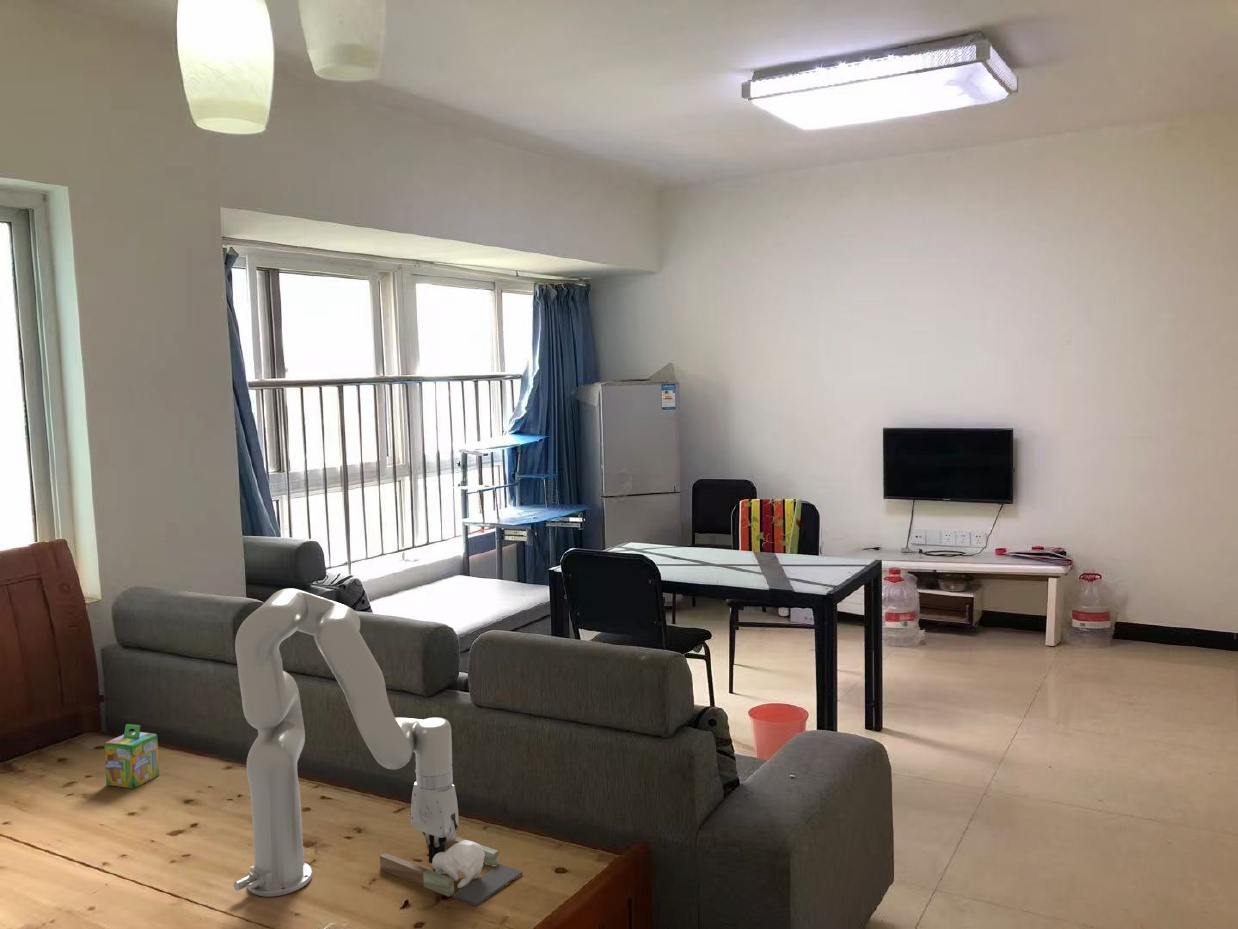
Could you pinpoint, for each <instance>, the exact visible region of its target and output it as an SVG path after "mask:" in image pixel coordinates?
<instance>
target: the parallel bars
mask: <svg viewBox="0 0 1238 929" xmlns="http://www.w3.org/2000/svg"><path fill="white" fill-rule="evenodd" d="M456 837H457V838H456V839H455V840H453V841H447V842H445V851H447V850H448V849H449V848H450V847H451V846H453V845H454V844H456V843H458V842H460V841H463V840H468V839H465V838H462V837H460V836H457V835H456ZM468 841H470V840H468ZM478 844H479V845H480V846H481V848H482V850H483V851H484V853H485V857H484V863H487V864H489V865H497V864H498V863H499V862H500V858H499V850H497V849H494V848H491V847H488V846H485V845H482V844H480V843H478ZM499 864H500V863H499ZM489 865H488V866H489ZM379 866H380V867H379V869H380V870H381V871H383V872H386V873H388V874H391V875H394V876H396V877H399V878H401V879H403V880H406V881H409V882H410V883H413V884H416V885H419V886H421V887H423V888H426V889H429V890H431V891H433V892H436V893H439V894H440V895H443V896H446V897H450V896H453V895H454V894H455V888H454V887H455V886H454V884H455V883H454V881H455V880H454V879H453V878H452V877H450V876H446V875H445V874H439V873H436V871H433V870H431V869H429V868H426V867H423V866H421V865H418V864H415V863H413V862H410V861H407V860H406V859H402V858H399V857H397V856H394V855H392V854H390V853H386V852H384V853H382V854H380V855H379ZM497 866H498V865H497Z"/></svg>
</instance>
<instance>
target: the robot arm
mask: <svg viewBox="0 0 1238 929" xmlns="http://www.w3.org/2000/svg"><path fill="white" fill-rule="evenodd" d="M360 619H361V618H360V616H359V614H358V613H357V612H356V610H354V609H353V608H351V607H349V606H348V605H346V604H342V603H340V602H337V601H334V600H331V599H328V598H325V597H322V596H318V595H315V594H313V593H309V592H307V591H305V590H301V589H297V588H283V589H280V590H278V591H275V592H274V593H273V594H272V595H271V596H270V597H269V598H268V599H267V600H265V602H264V603H262V605H260V607H258V608H256V610H254V611H253V612H251V614H249V615H248V616H247V617H246V618H245V619H244V620H243V621H242V623H241V624H240V626H239V628H238V630H237V632H236V636H235V642H234V644H235V645H234V648H235V659H236V663H237V666H236V667H237V670H238V681H239V689H240V695H241V703H242V704H241V705H242V712H243V715H244V718H245V720H246V722H247V723H248V724H249V725H250V726H251V727H253V728H254V729H256V730H257V737H256V738H255V740H254V742H253V743H252V745H251V747H250V749H249V751H248V754H247V758H246V768H245V769H246V776H247V781H248V786H249V793H250V805H251V808H250V809H251V810H250V811H251V818H252V832H253V833H252V836H253V854H254V864H253V865H251V866H250V867H249V870H250V872H248V873H247V874H246V876H244V877H242V878H240V879H237V880H235V881H234V882H233V889H234V890H235V891H237V892H238V891H241V890H242V889H244V888H247V891H249V892H250V893H252V894H253V895H256V896H259V897H269V898H270V897H271V898H273V897H279V896H283V895H287V894H292V893H294V892H296V891H298V890H301V889H302V888H304V886H307V884H308V883H309V882H310V881H311V880H312V877H313V869H312V866H310V865H309V864H308V863H306V862H305V858H304V842H303V840H304V839H303V822H302V821H303V820H302V805H301V804H302V803H301V791H300V783H299V782H300V781H299V776H298V763H299V762H298V761H299V759H300V756H301V753H302V751H303V748H304V746H305V741H306V740H305V739H306V733H305V732H306V730H305V725H304V717H303V711H302V705H301V703H302V702H301V698H300V697H301V696H300V692H299V687H298V684H297V682H296V680H295V678H294V677H293V676H292V675H291V674H290V673H288V672H287V671H286V670H285V671H284V668H283V658H282V655H281V651H280V645H281V644H282V642H283V641H285V640H286V639H288V638H289V637H291V636H293V634H294V633H296V632H300V633H304V634H307V635H311V636H313V638H314V642H315V645H316V646H317V649H318V650H319V652H320V654H321V655H322V657H323V659H324V660H325V662H326V664H327V666H328V667H329V669H330V671H331V672H332V674H333V676H334V678H335V680H336V681H337V683H338V685H339V686H340V688H341V691H343V694H344V696H345V698H346V701H347V705H348V707H349V710H350V711H351V714H352V717H353V719H354V721H355V724H356V727H357V729H358V731H359V733H360V736H361V737H362V739H363V741H364V743H365V744H366V746H367V748H368V750H369V752H370V753H371V755H372V756H373V757H374V759H375V761H376V762H377V763H378V764H379V765H380V766H382V767H383V768H385V769H386V770H387V769H388V770H399V769H401V768H403V767H404V766H406V765H407V764H408V763H409V762H410V760H411V758H412V757H413V753H415V769H414V773H415V774H416V775H415V780H416V781H414V784H413V787H412V793H411V794H412V795H411V801H410V802H411V803H410V806H411V807H410V824H411V827H412V828H414V829H415V830H417V831H419V832H421V833H422V834H423V836H424V838H425V843H426V844H427V845H428V863H429V864H431V865H432V860H433V857H434V856H435V855H436V854H437V853H439V852H445V851H446V850H445V842H447V841H453V840H455V839H456V838H457V837H458V836H457V833H456V831H458V828H459V821H460V820H459V808H458V807H459V806H458V799H457V793H456V792H457V791H456V787H455V785H454V782H453V781H454V780H453V748H452V747H453V745H452V726H451V723H450V721H449V720H448V719H446V718H443V717H428V718H424V719H423V718H422V719H421V718H420V719H419V718H411V717H410V718H409V717H402V716H401V717H399V716H398V717H395V715H394V712H393V710H392V707H391V705H390V702H389V699H388V698H389V697H388V694H387V689H386V682H385V681H386V680H385V678H384V673H383V671H382V669H381V668H380V666H379V663H378V662H377V661H376V659H375V657H374V655H373V653H372V651H371V650H370V648H369V646H368V645H367V643H366V641H365V640H364V638H363V636H362V634H361V633H360V630H361V620H360ZM456 836H457V837H456Z"/></svg>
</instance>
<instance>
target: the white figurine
mask: <svg viewBox="0 0 1238 929" xmlns="http://www.w3.org/2000/svg"><path fill="white" fill-rule="evenodd" d="M479 844H480V843H477V842H474V841H472V840H469V841H468V839H466V840H463V841H460V842H458V843H456V844H454V845H453V846H451V847H450V848H449V849H448V850H445V852H439V853H437V854H436V855H435V856H434V857H433V860H432V864H431V865H432V868H433V869H434V870H435V872H436V873H439V874H442V875H445V874H447V875H448V877H449V878H452V879H453V880H454V881H456V882H457V881H458V880H459V876H458V875H459V874H458V873H463V874H464V878H461V880H460V881H459V882H458V883H457V886H456V887H457V888H458V889H463V888H464V887H466V886H467V885H469V884H470V883H471V881H472V879H473V880H477V879H478V878H479V876H480V874H481V872H482V870H483V867H484V864H483V863H484V857H485V853H484V851H483V850H482V848H481V846H480V845H481V844H480V845H479Z"/></svg>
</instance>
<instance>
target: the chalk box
mask: <svg viewBox="0 0 1238 929" xmlns="http://www.w3.org/2000/svg"><path fill="white" fill-rule="evenodd" d="M132 729H133V731H132ZM130 730H131V731H130ZM123 732H124V733H123V734H122V735H119V736H117V737H115V738H112V739H111V740H108V741H105V742H104V755H105V757H104V758H105V777H106V778H105V780H106V781H105V784H106V786H112V787H113V786H114V787H119V788H127V789H133V790H134V789H136V788H138V787H140V786H141V785H144V784H146V783H147V782H149V781H151V780H153V779H155V778H157V777H159V776H160V765H159V764H160V762H159V760H160V759H159V743H158V742H159V741H158V739H159V738H158V735H157V734H156V733H153V732H152V733H151V732H145V731H141V725H140V724H133V723H132V724H131V723H125V727H124V731H123Z"/></svg>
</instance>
